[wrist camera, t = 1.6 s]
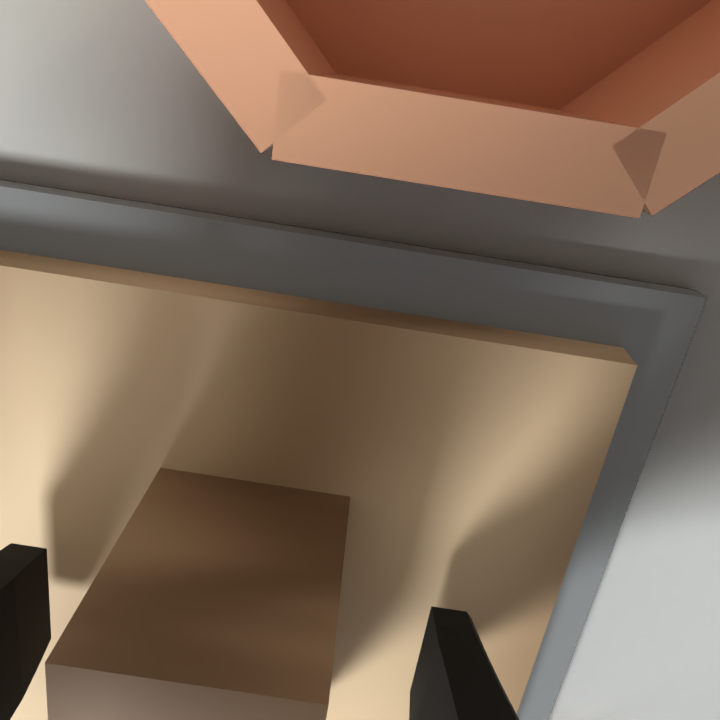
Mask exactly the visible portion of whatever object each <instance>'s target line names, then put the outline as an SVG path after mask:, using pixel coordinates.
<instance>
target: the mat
mask: <svg viewBox="0 0 720 720" xmlns="http://www.w3.org/2000/svg"><path fill="white" fill-rule="evenodd" d="M0 250H5V251H12V252H18V253H24V254H31V255H37V256H43V257H50V258H56V259H63V260H69V261H75V262H82V263H88V264H94V265H101V266H107V267H113V268H120V269H126V270H133V271H139V272H145V273H152V274H158V275H164V276H171V277H177V278H184V279H190V280H196V281H203V282H209V283H215V284H222V285H228V286H234V287H241V288H247V289H254V290H260V291H266V292H273V293H279V294H285V295H292V296H298V297H305V298H311V299H317V300H324V301H330V302H336V303H343V304H349V305H355V306H362V307H368V308H375V309H381V310H387V311H394V312H400V313H406V314H413V315H419V316H426V317H432V318H438V319H445V320H451V321H457V322H464V323H470V324H476V325H483V326H489V327H496V328H502V329H508V330H515V331H521V332H527V333H534V334H540V335H547V336H553V337H559V338H566V339H572V340H578V341H585V342H591V343H597V344H604V345H610V346H617V347H623V348H624V349H625V351H626V352H627V353H628V354H629V356H630V357H631V358H632V359H633V360H634V362H635V363H636V364H637V368H636V371H635V374H634V377H633V380H632V383H631V386H630V388H629V391H628V394H627V397H626V400H625V403H624V406H623V409H622V411H621V414H620V417H619V420H618V423H617V426H616V429H615V432H614V435H613V437H612V440H611V443H610V446H609V449H608V452H607V455H606V458H605V461H604V463H603V466H602V469H601V472H600V475H599V478H598V481H597V484H596V486H595V489H594V492H593V495H592V498H591V501H590V504H589V507H588V510H587V512H586V515H585V518H584V521H583V524H582V527H581V530H580V533H579V535H578V538H577V541H576V544H575V547H574V550H573V553H572V556H571V559H570V561H569V564H568V567H567V570H566V573H565V576H564V579H563V582H562V584H561V587H560V590H559V593H558V596H557V599H556V602H555V605H554V608H553V610H552V613H551V616H550V619H549V622H548V625H547V628H546V631H545V633H544V636H543V639H542V642H541V645H540V648H539V651H538V654H537V657H536V659H535V662H534V665H533V668H532V671H531V674H530V677H529V680H528V682H527V685H526V688H525V691H524V694H523V697H522V700H521V703H520V706H519V708H518V711H517V716H518V718H519V720H548V719H549V716H550V714H551V711H552V708H553V706H554V703H555V700H556V698H557V695H558V692H559V690H560V687H561V684H562V682H563V679H564V676H565V674H566V671H567V668H568V666H569V663H570V660H571V658H572V655H573V652H574V650H575V647H576V645H577V642H578V639H579V637H580V634H581V631H582V629H583V626H584V623H585V621H586V618H587V615H588V613H589V610H590V607H591V605H592V602H593V599H594V597H595V594H596V591H597V589H598V586H599V583H600V581H601V578H602V575H603V573H604V570H605V567H606V565H607V562H608V559H609V557H610V554H611V551H612V549H613V546H614V543H615V541H616V538H617V535H618V533H619V530H620V527H621V525H622V522H623V519H624V517H625V514H626V512H627V509H628V506H629V504H630V501H631V498H632V496H633V493H634V490H635V488H636V485H637V482H638V480H639V477H640V474H641V472H642V469H643V466H644V464H645V461H646V458H647V456H648V453H649V450H650V448H651V445H652V442H653V440H654V437H655V434H656V432H657V429H658V426H659V424H660V421H661V418H662V416H663V413H664V410H665V408H666V405H667V402H668V400H669V397H670V394H671V392H672V389H673V387H674V384H675V381H676V379H677V376H678V373H679V371H680V368H681V365H682V363H683V360H684V357H685V355H686V352H687V349H688V347H689V344H690V341H691V339H692V336H693V333H694V331H695V328H696V325H697V323H698V320H699V317H700V315H701V312H702V309H703V307H704V304H705V301H706V299H707V298H706V297H705V296H703V295H702V294H701V293H699V292H698V291H696V290H692V289H685V288H679V287H673V286H666V285H660V284H654V283H647V282H641V281H635V280H629V279H622V278H616V277H610V276H603V275H597V274H591V273H584V272H578V271H572V270H565V269H559V268H553V267H547V266H540V265H534V264H528V263H521V262H515V261H509V260H502V259H496V258H490V257H484V256H477V255H471V254H465V253H458V252H452V251H446V250H439V249H433V248H427V247H420V246H414V245H408V244H402V243H395V242H389V241H383V240H376V239H370V238H364V237H357V236H351V235H345V234H339V233H332V232H326V231H320V230H313V229H307V228H301V227H294V226H288V225H282V224H275V223H269V222H263V221H257V220H250V219H244V218H238V217H231V216H225V215H219V214H212V213H206V212H200V211H194V210H187V209H181V208H175V207H168V206H162V205H156V204H149V203H143V202H137V201H130V200H124V199H118V198H112V197H105V196H99V195H93V194H86V193H80V192H74V191H67V190H61V189H55V188H49V187H42V186H36V185H30V184H23V183H17V182H11V181H4V180H0Z"/></svg>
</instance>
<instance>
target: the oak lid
mask: <svg viewBox="0 0 720 720" xmlns="http://www.w3.org/2000/svg"><path fill="white" fill-rule="evenodd" d="M636 368H637V364H636V363H635V362H634V360H633V359H632V358H631V357H630V356H629V354H628V353H627V352H626V351H625V349H624V348H623V347H617V346H610V345H604V344H597V343H591V342H585V341H578V340H572V339H566V338H559V337H553V336H547V335H540V334H534V333H527V332H521V331H515V330H508V329H502V328H496V327H489V326H483V325H476V324H470V323H464V322H457V321H451V320H445V319H438V318H432V317H426V316H419V315H413V314H406V313H400V312H394V311H387V310H381V309H375V308H368V307H362V306H355V305H349V304H343V303H336V302H330V301H324V300H317V299H311V298H305V297H298V296H292V295H285V294H279V293H273V292H266V291H260V290H254V289H247V288H241V287H234V286H228V285H222V284H215V283H209V282H203V281H196V280H190V279H184V278H177V277H171V276H164V275H158V274H152V273H145V272H139V271H133V270H126V269H120V268H113V267H107V266H101V265H94V264H88V263H82V262H75V261H69V260H63V259H56V258H50V257H43V256H37V255H31V254H24V253H18V252H12V251H5V250H0V550H2V549H3V548H5V547H6V546H8V545H9V544H11V543H14V544H20V545H27V546H34V547H40V548H47V563H48V582H49V602H50V622H51V640H50V642H49V645H48V647H47V649H46V651H45V653H44V655H43V658H42V660H41V662H40V664H39V666H38V669H37V671H36V673H35V675H34V677H33V679H32V681H31V683H30V685H29V687H28V689H27V691H26V693H25V695H24V697H23V699H22V701H21V703H20V704H19V706H18V708H17V709H16V711H15V713H14V714H13V716H12V717H11V719H10V720H409V707H410V689H411V685H412V681H413V677H414V673H415V669H416V665H417V661H418V657H419V654H420V650H421V646H422V642H423V638H424V634H425V630H426V626H427V622H428V618H429V614H430V610H431V606H433V607H439V608H446V609H453V610H459V611H466V612H467V613H468V614H469V615H470V617H471V618H472V621H473V623H474V626H475V628H476V630H477V633H478V635H479V637H480V640H481V642H482V644H483V646H484V649H485V651H486V653H487V655H488V657H489V660H490V662H491V664H492V666H493V668H494V670H495V672H496V674H497V677H498V679H499V681H500V683H501V685H502V687H503V689H504V691H505V693H506V695H507V697H508V699H509V701H510V703H511V704H512V706H513V708H514V710H515V712H516V714H517V711H518V708H519V706H520V703H521V700H522V697H523V694H524V691H525V688H526V685H527V682H528V680H529V677H530V674H531V671H532V668H533V665H534V662H535V659H536V657H537V654H538V651H539V648H540V645H541V642H542V639H543V636H544V633H545V631H546V628H547V625H548V622H549V619H550V616H551V613H552V610H553V608H554V605H555V602H556V599H557V596H558V593H559V590H560V587H561V584H562V582H563V579H564V576H565V573H566V570H567V567H568V564H569V561H570V559H571V556H572V553H573V550H574V547H575V544H576V541H577V538H578V535H579V533H580V530H581V527H582V524H583V521H584V518H585V515H586V512H587V510H588V507H589V504H590V501H591V498H592V495H593V492H594V489H595V486H596V484H597V481H598V478H599V475H600V472H601V469H602V466H603V463H604V461H605V458H606V455H607V452H608V449H609V446H610V443H611V440H612V437H613V435H614V432H615V429H616V426H617V423H618V420H619V417H620V414H621V411H622V409H623V406H624V403H625V400H626V397H627V394H628V391H629V388H630V386H631V383H632V380H633V377H634V374H635V371H636Z"/></svg>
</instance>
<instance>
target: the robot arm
mask: <svg viewBox="0 0 720 720" xmlns="http://www.w3.org/2000/svg"><path fill="white" fill-rule="evenodd" d="M50 640H51V622H50V602H49V582H48V563H47V548H40V547H34V546H27V545H20V544H14V543H11V544H9V545H8V546H6V547H5V548H3V549H2V550H0V720H10V719H11V717H12V716H13V714H14V713H15V711H16V709H17V708H18V706H19V704H20V703H21V701H22V699H23V697H24V695H25V693H26V691H27V689H28V687H29V685H30V683H31V681H32V679H33V677H34V675H35V673H36V671H37V669H38V666H39V664H40V662H41V660H42V658H43V655H44V653H45V651H46V649H47V647H48V645H49V642H50ZM409 720H519V718H518V716H517V714H516V712H515V710H514V708H513V706H512V704H511V703H510V701H509V699H508V697H507V695H506V693H505V691H504V689H503V687H502V685H501V683H500V681H499V679H498V677H497V674H496V672H495V670H494V668H493V666H492V664H491V662H490V660H489V657H488V655H487V653H486V651H485V649H484V646H483V644H482V642H481V640H480V637H479V635H478V633H477V630H476V628H475V626H474V623H473V621H472V618H471V617H470V615H469V614H468V613H467V612H466V611H459V610H453V609H446V608H439V607H433V606H431V610H430V614H429V618H428V622H427V626H426V630H425V634H424V638H423V642H422V646H421V650H420V654H419V657H418V661H417V665H416V669H415V673H414V677H413V681H412V685H411V689H410V707H409Z"/></svg>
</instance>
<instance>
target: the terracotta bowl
mask: <svg viewBox="0 0 720 720" xmlns="http://www.w3.org/2000/svg"><path fill="white" fill-rule="evenodd" d="M145 2H146V3H147V4H148V5H149V7H150V8H151V9H152V11H153V12H154V13H155V15H156V16H157V17H158V19H159V20H160V21H161V23H162V24H163V25H164V27H165V28H166V29H167V30H168V32H169V33H170V34H171V36H172V37H173V38H174V40H175V41H176V42H177V44H178V45H179V46H180V48H181V49H182V50H183V52H184V53H185V54H186V55H187V57H188V58H189V59H190V61H191V62H192V63H193V65H194V66H195V67H196V69H197V70H198V71H199V73H200V74H201V75H202V77H203V78H204V79H205V80H206V82H207V83H208V84H209V86H210V87H211V88H212V90H213V91H214V92H215V94H216V95H217V96H218V98H219V99H220V100H221V102H222V103H223V104H224V105H225V107H226V108H227V109H228V111H229V112H230V113H231V115H232V116H233V117H234V119H235V120H236V121H237V123H238V124H239V125H240V127H241V128H242V129H243V130H244V132H245V133H246V134H247V136H248V137H249V138H250V140H251V141H252V142H253V144H254V145H255V146H256V148H257V149H258V150H259V152H260V153H262V152H263V151H265V150H267V149H268V148H270V147H272V146H273V151H272V160H277V161H283V162H289V163H295V164H302V165H308V166H314V167H320V168H327V169H333V170H339V171H345V172H351V173H358V174H364V175H370V176H376V177H383V178H389V179H395V180H401V181H408V182H414V183H420V184H426V185H433V186H439V187H445V188H451V189H458V190H464V191H470V192H476V193H483V194H489V195H495V196H501V197H508V198H514V199H520V200H526V201H533V202H539V203H545V204H551V205H558V206H564V207H570V208H576V209H583V210H589V211H595V212H601V213H608V214H614V215H620V216H626V217H633V218H639V219H640V216H641V212H642V210H643V211H644V212H646V213H648V214H650V215H652V216H653V215H654V214H656V213H657V212H659V211H661V210H662V209H664V208H665V207H667V206H668V205H670V204H671V203H673V202H675V201H676V200H678V199H679V198H681V197H682V196H684V195H686V194H687V193H689V192H690V191H692V190H693V189H695V188H696V187H698V186H700V185H701V184H703V183H704V182H706V181H707V180H709V179H711V178H712V177H714V176H715V175H717V174H718V173H720V0H145Z"/></svg>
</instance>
